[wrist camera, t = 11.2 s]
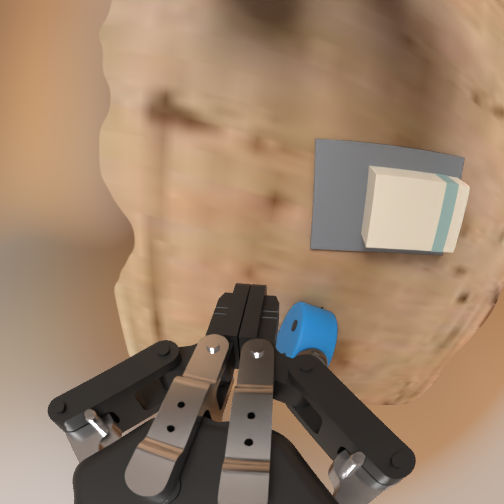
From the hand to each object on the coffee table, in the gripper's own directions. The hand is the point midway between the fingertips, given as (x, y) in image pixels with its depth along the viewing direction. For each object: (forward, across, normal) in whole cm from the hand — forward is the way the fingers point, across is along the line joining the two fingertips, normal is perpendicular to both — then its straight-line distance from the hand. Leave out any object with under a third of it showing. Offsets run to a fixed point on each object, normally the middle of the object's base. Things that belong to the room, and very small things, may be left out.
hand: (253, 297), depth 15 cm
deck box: (+24, +12, -4) cm, 27 cm away
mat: (+27, +15, -4) cm, 31 cm away
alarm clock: (+27, +4, -27) cm, 38 cm away
